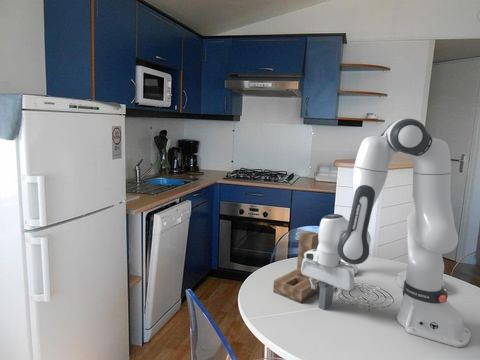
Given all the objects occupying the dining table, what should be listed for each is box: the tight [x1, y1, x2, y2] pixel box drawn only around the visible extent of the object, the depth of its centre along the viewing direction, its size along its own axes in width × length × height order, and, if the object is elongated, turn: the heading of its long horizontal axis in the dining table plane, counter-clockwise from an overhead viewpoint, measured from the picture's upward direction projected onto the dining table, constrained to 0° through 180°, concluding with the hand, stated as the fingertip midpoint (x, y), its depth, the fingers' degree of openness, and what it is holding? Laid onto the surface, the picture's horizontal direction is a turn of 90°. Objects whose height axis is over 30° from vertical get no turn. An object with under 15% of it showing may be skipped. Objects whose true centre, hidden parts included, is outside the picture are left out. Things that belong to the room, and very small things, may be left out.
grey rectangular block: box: [318, 282, 335, 311], centre depth 137 cm, size 2×8×10 cm, turn 138°
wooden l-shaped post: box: [272, 230, 322, 304], centre depth 147 cm, size 13×16×23 cm
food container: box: [395, 269, 447, 290], centre depth 159 cm, size 20×20×7 cm
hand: (325, 293), depth 137 cm, fingers open, 8 cm apart
